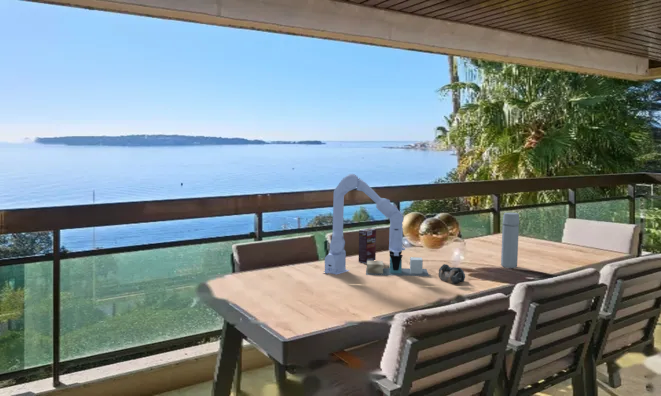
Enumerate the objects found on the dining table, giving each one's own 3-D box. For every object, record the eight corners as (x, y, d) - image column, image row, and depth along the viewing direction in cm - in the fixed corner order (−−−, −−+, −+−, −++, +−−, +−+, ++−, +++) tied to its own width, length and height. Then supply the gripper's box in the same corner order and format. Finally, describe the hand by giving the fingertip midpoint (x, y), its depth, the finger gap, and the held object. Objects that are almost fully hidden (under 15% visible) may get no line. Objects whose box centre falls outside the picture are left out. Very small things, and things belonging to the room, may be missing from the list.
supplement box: (366, 264, 239) (366, 231, 237) (358, 263, 242) (358, 230, 240) (376, 261, 246) (376, 229, 244) (367, 259, 249) (368, 228, 247)
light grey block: (410, 273, 220) (411, 259, 219) (410, 270, 225) (410, 257, 224) (422, 273, 220) (422, 260, 219) (421, 270, 225) (421, 257, 224)
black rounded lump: (439, 278, 215) (431, 282, 206) (440, 262, 214) (431, 265, 206) (467, 283, 208) (459, 287, 200) (468, 266, 208) (460, 270, 199)
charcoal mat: (365, 276, 218) (365, 274, 218) (366, 268, 231) (366, 267, 230) (429, 277, 215) (429, 276, 215) (426, 270, 228) (426, 268, 228)
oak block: (366, 273, 220) (367, 264, 220) (367, 269, 227) (367, 260, 227) (383, 273, 220) (383, 264, 219) (382, 269, 227) (382, 260, 226)
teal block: (389, 273, 221) (390, 259, 220) (389, 270, 226) (389, 257, 225) (401, 273, 220) (401, 259, 220) (400, 270, 225) (401, 257, 225)
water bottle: (519, 269, 230) (521, 214, 227) (501, 268, 232) (503, 214, 229) (516, 264, 239) (518, 212, 236) (498, 263, 241) (500, 211, 238)
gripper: (406, 241, 214) (405, 272, 215) (404, 235, 228) (403, 264, 230) (389, 241, 214) (389, 272, 216) (388, 235, 229) (388, 264, 230)
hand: (395, 268), depth 223 cm, fingers closed on teal block, 5 cm apart
